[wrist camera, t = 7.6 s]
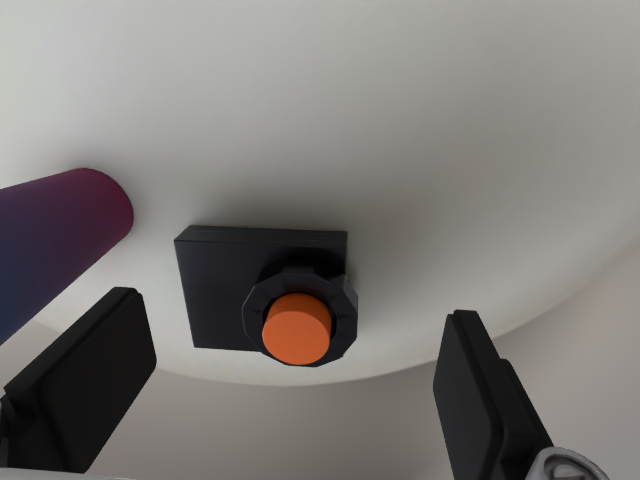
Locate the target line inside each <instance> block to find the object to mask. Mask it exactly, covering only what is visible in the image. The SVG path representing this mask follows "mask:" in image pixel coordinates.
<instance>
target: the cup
mask: <svg viewBox="0 0 640 480" xmlns="http://www.w3.org/2000/svg"><path fill="white" fill-rule="evenodd" d="M132 222H133V211H132V207H131V204H130V201H129V199H128V197H127V195H126V194H125V192H124V191H123V190H122V188H121V187H120V186H119V185H118V184H117V183H116V182H115V181H113V180H112V179H111V178H110V177H108V176H106V175H104V174H103V173H100V172H98V171H95V170H91V169H85V168H84V169H74V170H70V171H67V172H63V173H59V174H55V175H52V176H48V177H44V178H40V179H37V180H33V181H29V182H25V183H22V184H18V185H14V186H11V187H7V188H3V189H0V346H1V345H2V344H3V343H4V342H5V341H6V340H8V339H9V338H10V337H11V336H12V335H13V334H14V333H16V332H17V331H18V330H19V329H20V328H21V327H22V326H24V325H25V324H26V323H27V322H28V321H29V320H30V319H32V318H33V317H34V316H35V315H36V314H37V313H38V312H40V311H41V310H42V309H43V308H44V307H45V306H46V305H48V304H49V303H50V302H51V301H52V300H53V299H54V298H55V297H57V296H58V295H59V294H60V293H61V292H62V291H63V290H65V289H66V288H67V287H68V286H69V285H70V284H71V283H73V282H74V281H75V280H76V279H77V278H78V277H79V276H81V275H82V274H83V273H84V272H85V271H86V270H87V269H89V268H90V267H91V266H92V265H93V264H94V263H95V262H97V261H98V260H99V259H100V258H101V257H102V256H103V255H104V254H106V253H107V252H108V251H109V250H110V249H111V248H112V247H114V246H115V245H116V244H117V243H118V242H119V241H120V240H122V239H123V238H124V237H125V236H126V235H127V234H128V232H129V231H130V229H131V226H132Z"/></svg>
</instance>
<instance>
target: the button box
mask: <svg viewBox="0 0 640 480" xmlns="http://www.w3.org/2000/svg"><path fill="white" fill-rule="evenodd" d="M347 241H348V232H345V231H318V230H291V229H265V228H238V227H211V226H188V227H187V228H186V229H185V230H184V231H183V232H182V233H181V234H180V235H179V236H178V237H177V238H176V239H174V245H175V250H176V255H177V261H178V266H179V271H180V276H181V282H182V287H183V292H184V297H185V302H186V308H187V313H188V318H189V323H190V329H191V334H192V339H193V344H194V347H195V348H210V349H225V350H240V351H255V352H262V354H264V355H266V356H268V357H270V358H272V359H274V360H276V361H278V362H280V363H282V364H284V365H288V366H302V367H318V366H321V365H324V364H326V363H329V362H332V361H335V360H337V359H340V358H341V357H343V354H344V353H345V352H346V351H347V349H348V348H349V347H350V346H351V345H352V343H353V342H354V341H355V340H356V338H357V323H358V296H357V294H356V292H355V291H354V289H353V287H352V286H351V284H350V283H349V281H348V279H347V278H346V270H347ZM290 293H305V294H309V295H312V296H314V297H316V298H317V299H319V300H320V301H322V302H323V303H324V304H325V305H326V307H327V308H328V310H329V312H330V314H331V320H332V322H331V332H330V342H329V347H328V349H327V351H326V353H325V354H324V355H323V356H322V357H321V358H320V359H318V360H317V361H315V362H312V363H309V364H303V365H296V364H290V363H286V362H283V361H281V360H279V359H277V358H276V357H274V356H273V355H272V354H271V353H270V352H269V351H268V350H267V348H266V346H265V344H264V342H263V337H262V332H263V328H264V325H265V322H266V319H267V317H268V314H269V311H270V308H271V306H272V305H273V303H274V302H275V301H276V300H277V299H279V298H280V297H282V296H284V295H287V294H290Z"/></svg>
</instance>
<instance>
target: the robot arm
mask: <svg viewBox="0 0 640 480" xmlns="http://www.w3.org/2000/svg"><path fill="white" fill-rule="evenodd" d="M156 362H157V359H156V354H155V349H154V345H153V340H152V336H151V332H150V327H149V323H148V318H147V314H146V309H145V305H144V301H143V297H142V295H141V293H138V291H137V290H136V289H135V288H128V287H114V288H112V289H111V290H110V291H109V292H108V293H107V294H106V295H104V296H103V297H102V298H101V299H100V300H99V301H98V302H97V303H96V304H95V305H93V306H92V307H91V308H90V309H89V310H88V311H87V312H86V313H85V314H84V315H82V316H81V317H80V318H79V319H78V320H77V321H76V322H75V323H74V324H73V325H71V326H70V327H69V328H68V329H67V330H66V331H65V332H64V333H63V334H62V335H60V336H59V337H58V338H57V339H56V340H55V341H54V342H53V343H52V344H51V345H50V346H49V347H47V348H46V349H45V350H44V351H43V352H42V353H41V354H40V355H39V356H37V357H36V359H34V360H33V361H32V362H31V363H30V364H29V365H28V366H26V367H25V368H24V369H23V370H22V371H21V372H20V373H19V374H18V375H17V376H16V377H14V378H13V379H12V380H11V381H10V382H9V383H8V384H7V385H6V386H5V387H3V388H4V390H5V392H6V394H5V395H4V396H3V397H2V398H1V399H0V480H138V479H127V478H118V477H107V476H97V475H88V474H84V473H85V472H86V471H87V470H88V469H89V468H90V466H91V465H92V463H93V461H94V460H95V459H96V457H97V456H98V454H99V453H100V451H101V450H102V448H103V446H104V445H105V444H106V442H107V440H108V439H109V437H110V436H111V434H112V433H113V431H114V430H115V428H116V427H117V425H118V424H119V422H120V421H121V419H122V418H123V416H124V415H125V413H126V412H127V410H128V409H129V407H130V406H131V404H132V403H133V401H134V400H135V398H136V397H137V395H138V394H139V392H140V391H141V389H142V388H143V386H144V385H145V383H146V382H147V380H148V379H149V377H150V376H151V374H152V373H153V371H154V369H155V367H156ZM433 392H434V397H435V401H436V405H437V409H438V413H439V417H440V422H441V426H442V430H443V434H444V438H445V443H446V447H447V451H448V455H449V459H450V463H451V468H452V472H453V476H454V480H610V479H609V478H608V476H607V475H606V474H605V473H604V472H603V471H602V470H601V469H600V468H599V467H598V466H597V465H596V464H594V463H593V462H592V461H590V460H589V459H587V458H586V457H585V456H583V455H581V454H579V453H577V452H575V451H572V450H569V449H565V448H562V447H554V445H553V443H552V441H551V439H550V437H549V435H548V434H547V431H546V429H545V428H544V426H543V424H542V422H541V420H540V418H539V416H538V414H537V412H536V411H535V409H534V407H533V405H532V403H531V401H530V399H529V397H528V395H527V393H526V391H525V390H524V388H523V386H522V384H521V382H520V380H519V378H518V376H517V374H516V372H515V370H514V369H513V367H512V365H511V364H510V362H509V361H508V360H506V359H500V357H499V355H498V353H497V351H496V349H495V347H494V345H493V343H492V341H491V339H490V337H489V335H488V333H487V331H486V329H485V327H484V325H483V323H482V321H481V319H480V317H479V315H478V313H477V312H476V311H471V310H455V311H454V313H453V314H448V315H447V318H446V323H445V328H444V332H443V337H442V342H441V347H440V352H439V356H438V361H437V366H436V372H435V376H434V381H433Z"/></svg>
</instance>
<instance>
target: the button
mask: <svg viewBox="0 0 640 480" xmlns="http://www.w3.org/2000/svg"><path fill="white" fill-rule="evenodd" d="M331 322H332V320H331V314H330V312H329V310H328V308H327V307H326V305H325V304H324V303H323V302H322V301H320V300H319V299H317V298H316V297H314V296H312V295H309V294H305V293H290V294H287V295H284V296H282V297H280V298H279V299H277V300H276V301H275V302H274V303H273V305H272V306H271V308H270V311H269V314H268V317H267V319H266V322H265V325H264V328H263V332H262V337H263V342H264V344H265V346H266V348H267V350H268V351H269V352H270V353H271V354H272V355H273V356H274V357H276V358H277V359H279V360H281V361H283V362H286V363H290V364H296V365H303V364H309V363H312V362H315V361H317V360H318V359H320V358H321V357H322V356H323V355H324V354H325V353H326V351H327V349H328V347H329V342H330V332H331Z"/></svg>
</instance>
